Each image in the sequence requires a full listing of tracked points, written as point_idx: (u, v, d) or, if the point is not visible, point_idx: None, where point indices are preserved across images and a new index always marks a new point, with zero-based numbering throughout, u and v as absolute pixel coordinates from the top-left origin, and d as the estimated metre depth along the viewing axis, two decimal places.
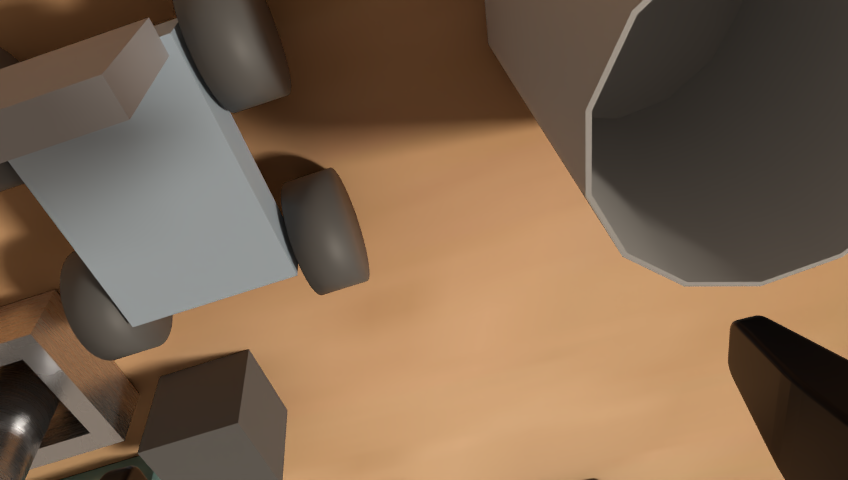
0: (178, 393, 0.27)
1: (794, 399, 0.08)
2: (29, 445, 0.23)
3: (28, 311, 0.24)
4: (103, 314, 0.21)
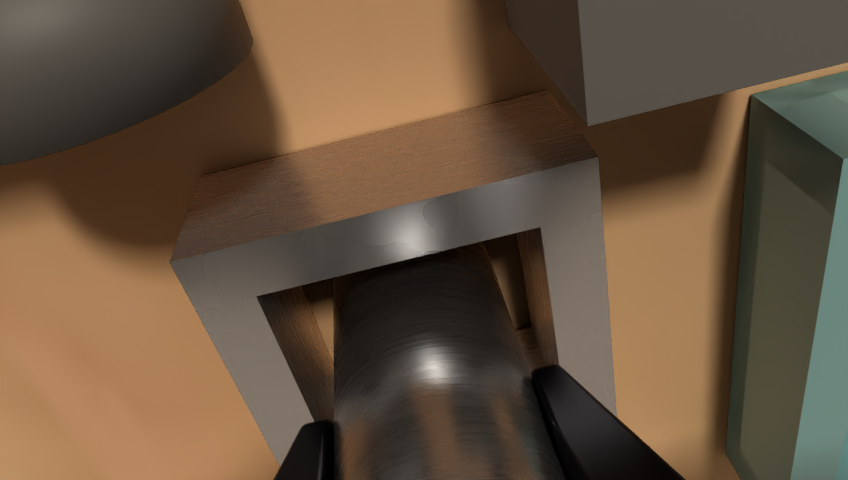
0: None
1: (561, 454, 0.08)
2: (441, 374, 0.08)
3: None
4: None
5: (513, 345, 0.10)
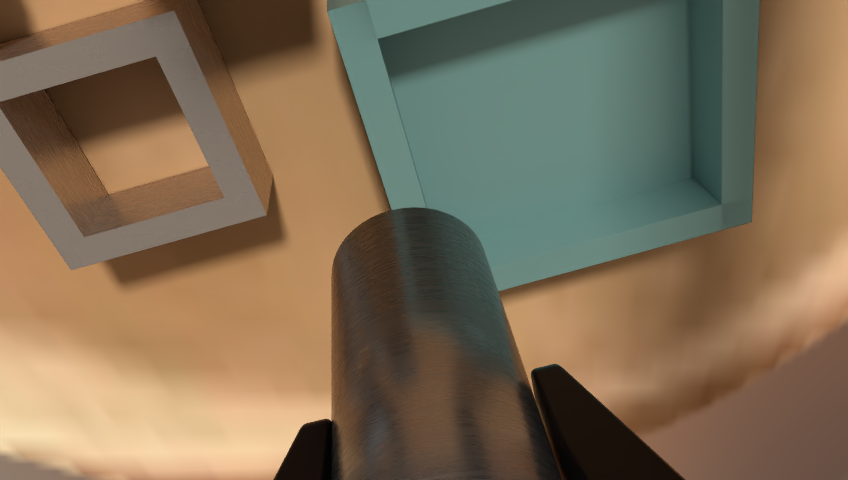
0: None
1: (561, 454, 0.08)
2: (438, 376, 0.08)
3: None
4: None
5: (510, 347, 0.10)
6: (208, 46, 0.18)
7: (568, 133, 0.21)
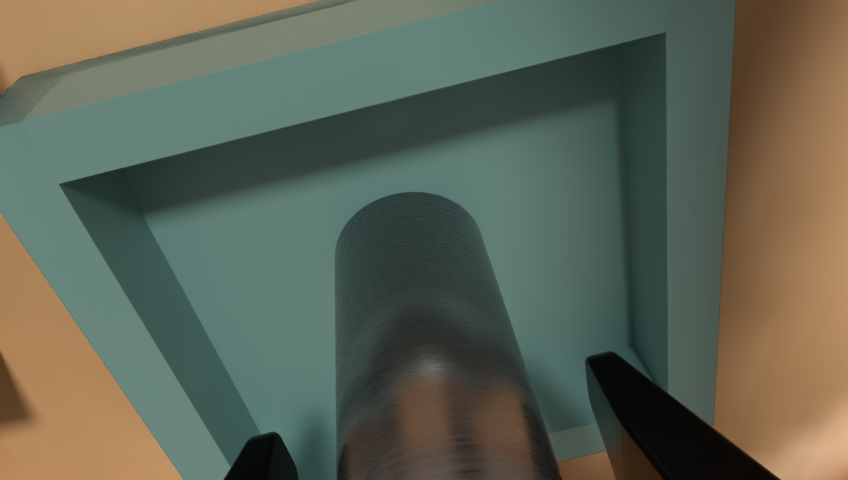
0: None
1: (624, 439, 0.08)
2: (436, 349, 0.09)
3: None
4: None
5: (505, 324, 0.10)
6: None
7: None
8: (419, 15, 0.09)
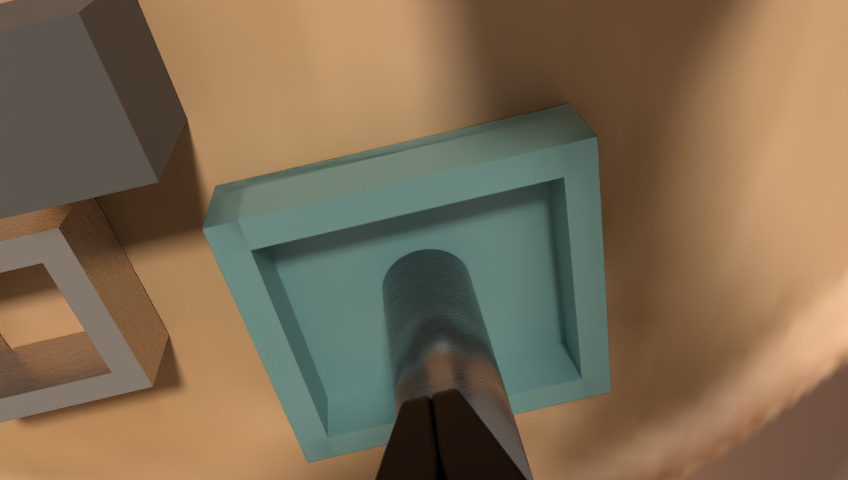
0: None
1: None
2: (446, 334, 0.18)
3: None
4: None
5: (481, 323, 0.19)
6: (100, 239, 0.20)
7: None
8: (439, 168, 0.18)
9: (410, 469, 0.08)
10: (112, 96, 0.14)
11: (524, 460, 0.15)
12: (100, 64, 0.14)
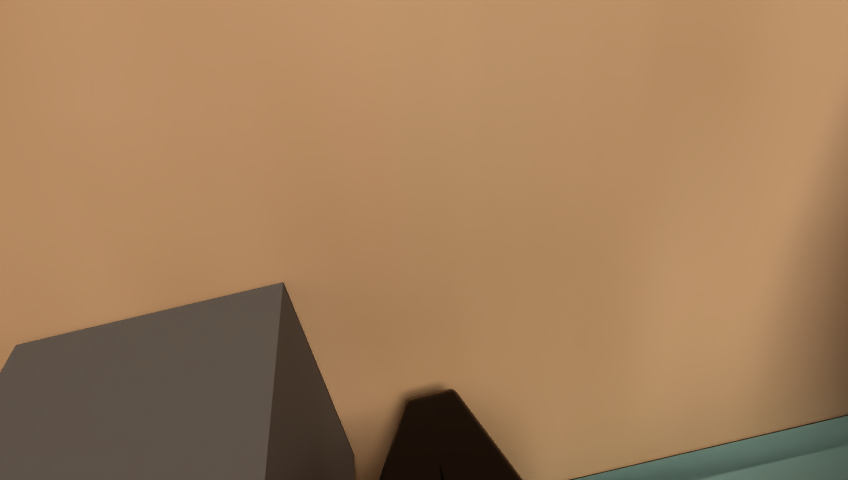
0: None
1: None
2: None
3: None
4: None
5: None
6: None
7: None
8: None
9: (415, 468, 0.08)
10: None
11: None
12: None
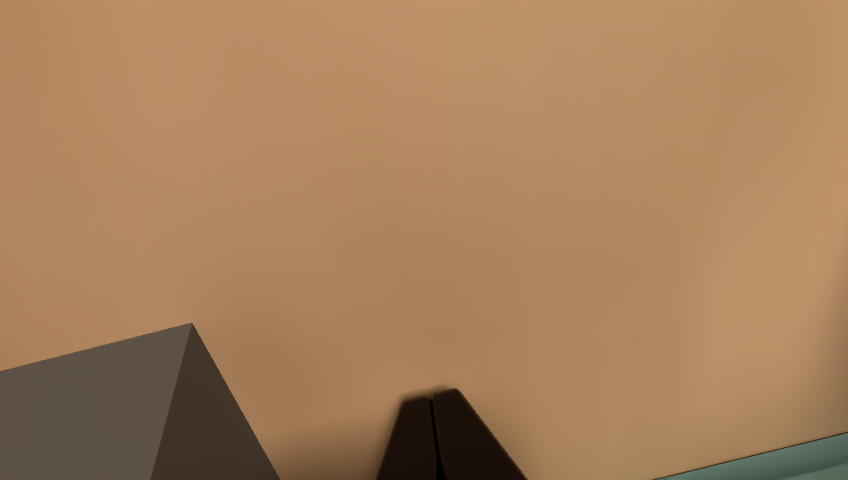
0: None
1: None
2: None
3: None
4: None
5: None
6: None
7: None
8: None
9: (410, 469, 0.08)
10: None
11: None
12: None
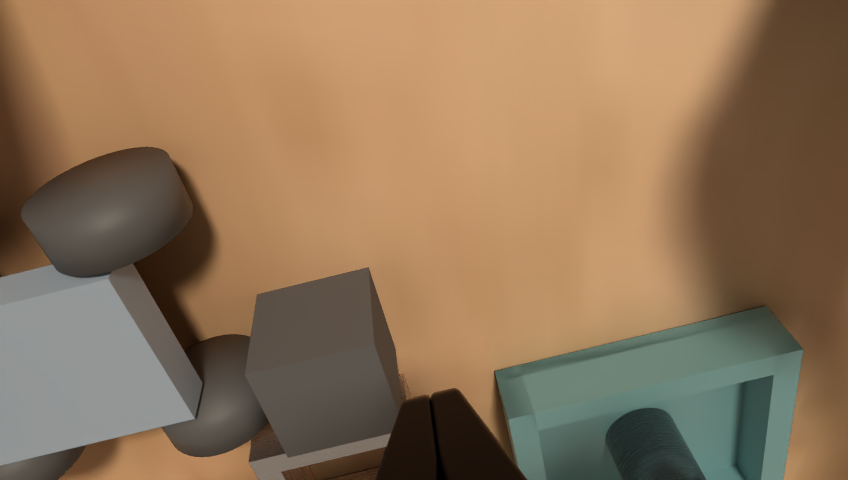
0: None
1: None
2: None
3: None
4: (182, 433, 0.21)
5: (705, 478, 0.26)
6: None
7: None
8: (681, 371, 0.25)
9: (410, 469, 0.08)
10: (385, 386, 0.21)
11: None
12: (381, 369, 0.20)
